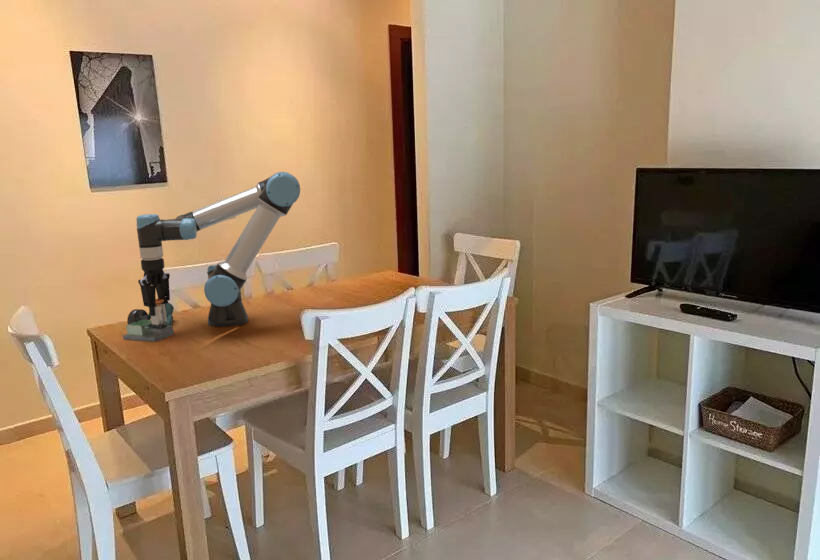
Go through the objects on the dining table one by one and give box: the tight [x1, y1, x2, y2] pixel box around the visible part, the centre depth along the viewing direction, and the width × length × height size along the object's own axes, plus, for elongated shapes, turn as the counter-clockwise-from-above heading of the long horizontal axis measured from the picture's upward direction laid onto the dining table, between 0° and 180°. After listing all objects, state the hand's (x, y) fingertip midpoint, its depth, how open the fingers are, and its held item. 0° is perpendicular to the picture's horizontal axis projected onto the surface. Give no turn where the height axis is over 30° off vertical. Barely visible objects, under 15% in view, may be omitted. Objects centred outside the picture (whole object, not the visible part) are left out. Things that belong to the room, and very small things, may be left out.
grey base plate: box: [122, 319, 175, 343], centre depth 231 cm, size 14×10×5 cm
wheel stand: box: [127, 308, 149, 325], centre depth 238 cm, size 6×8×8 cm
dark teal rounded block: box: [147, 302, 175, 325], centre depth 247 cm, size 9×9×9 cm
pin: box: [155, 297, 166, 329], centre depth 230 cm, size 4×4×12 cm
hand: (159, 322), depth 230 cm, fingers closed on pin, 3 cm apart
